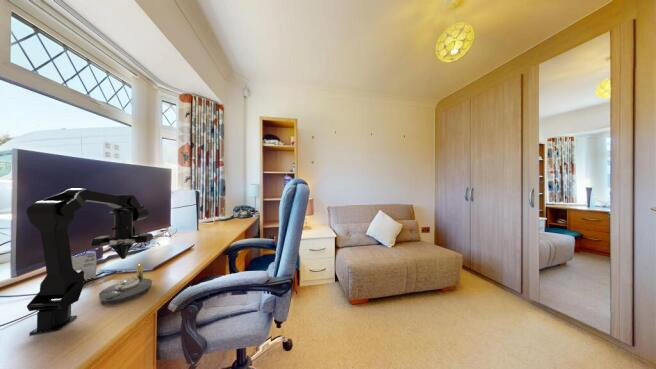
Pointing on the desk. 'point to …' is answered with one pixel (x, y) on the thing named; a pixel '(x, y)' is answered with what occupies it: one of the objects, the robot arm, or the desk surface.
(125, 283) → the cover
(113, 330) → the desk surface
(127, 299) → the turntable base
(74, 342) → the desk surface
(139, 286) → the turntable
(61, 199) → the robot arm
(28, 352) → the desk surface
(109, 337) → the desk surface
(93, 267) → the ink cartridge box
